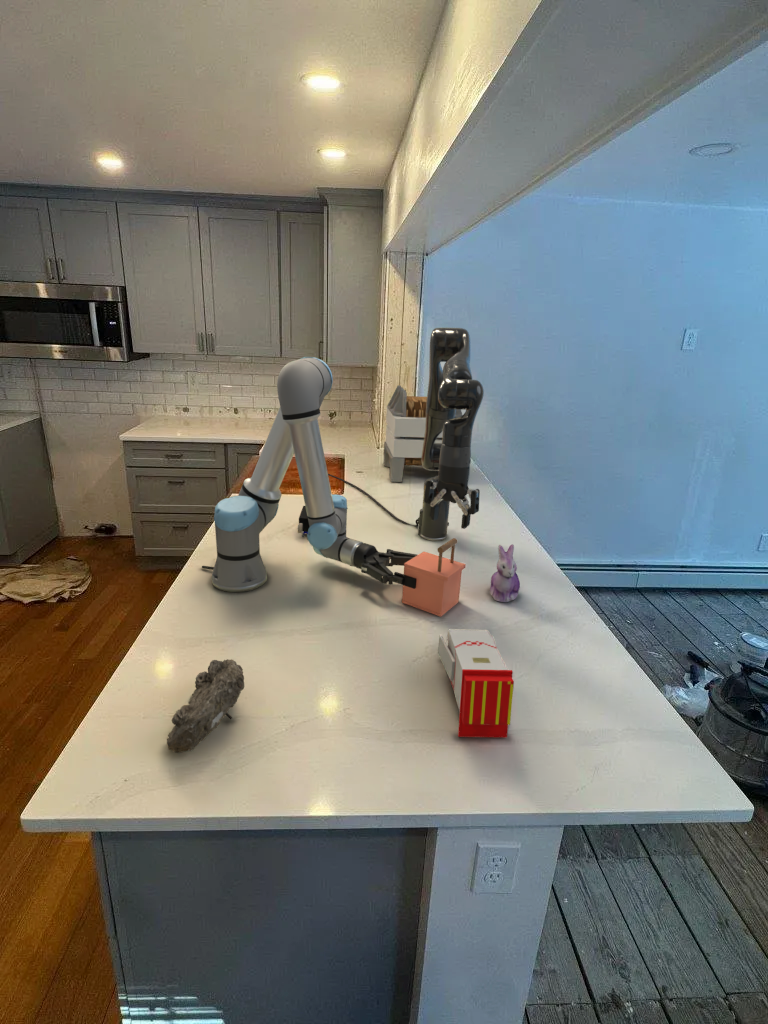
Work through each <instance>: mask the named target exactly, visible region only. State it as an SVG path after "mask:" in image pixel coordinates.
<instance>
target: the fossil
mask: <svg viewBox="0 0 768 1024" xmlns="http://www.w3.org/2000/svg"><path fill="white" fill-rule="evenodd" d="M243 670H244V669H243V667H242V665H240V664H237V662H236V661H235V660H234V659H232V658H231V659H227V658H226V659H224V660H223V661H222V660H217V659H212V660H211V661H210V663H209V665H208V666H207V671H201V672H199V673H198V674H197V675H196V676H195V680H194V684H195V685H194V687H195V689H194V690H193V693H192V694H191V697H190V698H189V700H188V704H184V705H182V706H181V707H180V709H177V710H176V711H175V713H174V715H173V716H172V718H171V723H172V724H173V727H172V730H171V731H170V732H168V734H167V738H166V741H167V742H166V745H167V749H168V750H169V751H173V752H174V753H176V754H178V753H182V752H188V751H189V752H192V751H193V750H195V748H196V747H197V746H199V744H200V743H201V742H203V741H204V740H205V739H206V738H207V737H208V736H209V735H210V734H211V733H212V732H214V730H215V729H217V727H218V726H219V724H220V722H221V721H222V720H223V719H224V718H225V716H226V717H227V719H229V720H233V717H232V715H230V714H229V710H230V709H231V708H234V706H235V704H236V703H237V702H238V699H239V697H240V695H241V693H242V691H243V690H245V689H244V688H245V675H244V671H243Z"/></svg>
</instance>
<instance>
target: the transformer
mask: <svg viewBox="0 0 768 1024" xmlns="http://www.w3.org/2000/svg"><path fill="white" fill-rule="evenodd" d="M407 394H408V393H407V390H406V389H404V388H403V387H402V385H399V384H398V385H397V386H396V388H395V390H394V392H393V394H392V395H391V398H390V400H389V402H388V404H387V405H386V413H385V414H386V415H385V423H386V428H385V438H384V442H383V466H384V467H388V468H389V475H388V476H389V477H388V478H389V480H390V482H391V483H402V482H403V475H404V469H405V466H406V467H407V466H411V467H412V466H413V467H415V466H416V467H417V466H418V467H423V466H422V461H421V457H422V449H423V442H424V435H425V424H426V403H427V396H415V395H414V396H413V395H412V396H411V395H407ZM462 415H463V411H462V410H460V409H456V413H455V417H454V418H458V417H461V416H462ZM442 436H443V432H441V433H440V435H439V436H438V437H437V438H436V440H435V442H434V443H442Z"/></svg>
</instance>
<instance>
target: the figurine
mask: <svg viewBox="0 0 768 1024" xmlns="http://www.w3.org/2000/svg"><path fill="white" fill-rule="evenodd" d="M497 549H498V561H497V563H496V570H497V571H495V572H494V573H493V574H492V575H491V577H490V586H489V594H490V596H491V597H492V599H493V600H494V601H496V602H501V603H508V602H510V601H514V600H516V599H517V597H518V595H519V591H520V588H521V582H520V579H519V576H518V574H517V570H518V566H517V562H516V560H515V559H514V551H515V546H514V544H510V545H509V546H508V548H507V551H506V550H505V549H504V547H503V546H502V545H500V544H499V545H498V547H497Z"/></svg>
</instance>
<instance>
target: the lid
mask: <svg viewBox="0 0 768 1024" xmlns="http://www.w3.org/2000/svg"><path fill="white" fill-rule="evenodd" d="M457 544H458V538H456V537H453V538H451V539H449V540H448V541H447V542H445V543H444V544H442V545H440V546H438V548H437V552H438V555H437V554H434V553H430V552H428V551H422V552H420V553H419V554H417V556H415V557H414V558H412V559H411V560H409V561H407V562H406V563H404V566H403V568H404V567H406V568H409V569H412V570H415V571H418V572H421V573H424V574H427V575H431V576H434V577H437V578H440V579H443V580H446V581H448V580H450V579H451V578H452V577H454V576H455V575H456V574H458V573H459V572H460V571H462V572H463V570H464V569H466V566H467V564H466V563H464V562H460V561H457V560H455V551H456V545H457ZM450 549H451V550H450ZM448 550H450V558H447V557H443V556H444V555H443V554H444V553H445V552H446V551H448Z"/></svg>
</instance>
